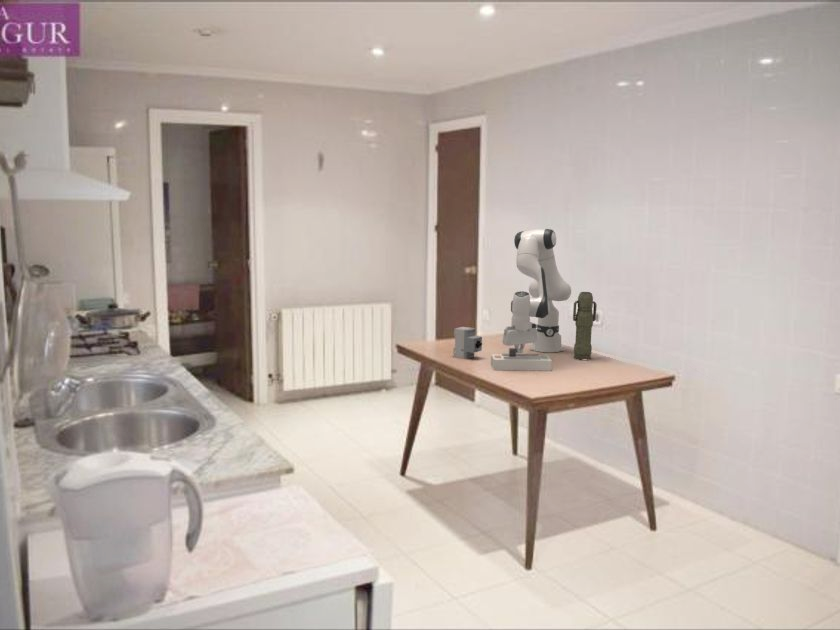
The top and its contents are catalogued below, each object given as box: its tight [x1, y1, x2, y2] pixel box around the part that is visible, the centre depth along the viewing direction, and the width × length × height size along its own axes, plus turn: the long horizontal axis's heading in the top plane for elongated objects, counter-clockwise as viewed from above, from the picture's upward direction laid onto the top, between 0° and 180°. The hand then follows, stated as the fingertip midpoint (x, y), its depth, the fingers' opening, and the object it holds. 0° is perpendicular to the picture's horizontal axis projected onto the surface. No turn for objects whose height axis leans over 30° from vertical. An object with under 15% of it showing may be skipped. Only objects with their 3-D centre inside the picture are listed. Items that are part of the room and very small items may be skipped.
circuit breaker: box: [452, 326, 483, 360], centre depth 375 cm, size 8×14×15 cm, turn 53°
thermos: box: [572, 291, 597, 360], centre depth 376 cm, size 9×12×35 cm
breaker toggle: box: [508, 347, 517, 357], centre depth 354 cm, size 3×3×4 cm
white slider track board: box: [490, 353, 553, 372], centre depth 355 cm, size 13×28×6 cm, turn 91°
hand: (519, 353), depth 354 cm, fingers closed
